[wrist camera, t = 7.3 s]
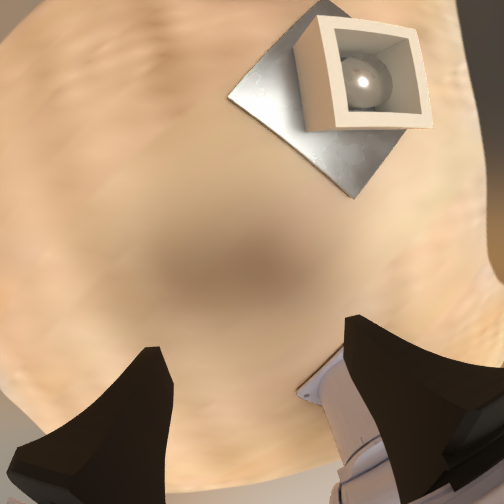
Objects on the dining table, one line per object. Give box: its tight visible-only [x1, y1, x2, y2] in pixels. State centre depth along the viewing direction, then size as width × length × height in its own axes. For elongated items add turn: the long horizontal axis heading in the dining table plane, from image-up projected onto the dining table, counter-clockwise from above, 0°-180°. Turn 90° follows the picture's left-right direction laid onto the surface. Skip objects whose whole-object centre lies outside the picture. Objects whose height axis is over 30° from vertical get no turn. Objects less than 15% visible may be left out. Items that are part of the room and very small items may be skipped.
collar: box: [293, 15, 433, 133], centre depth 13 cm, size 6×6×5 cm
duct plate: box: [228, 0, 430, 199], centre depth 14 cm, size 10×10×4 cm
